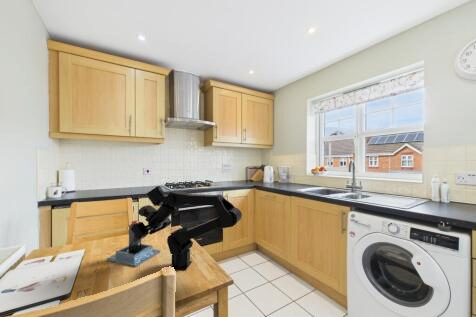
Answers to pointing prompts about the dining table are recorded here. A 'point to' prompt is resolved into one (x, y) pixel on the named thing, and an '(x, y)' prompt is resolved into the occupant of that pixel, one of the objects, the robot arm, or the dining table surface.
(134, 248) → the dark upright cylinder piece
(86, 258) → the dining table surface
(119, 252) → the flange socket
